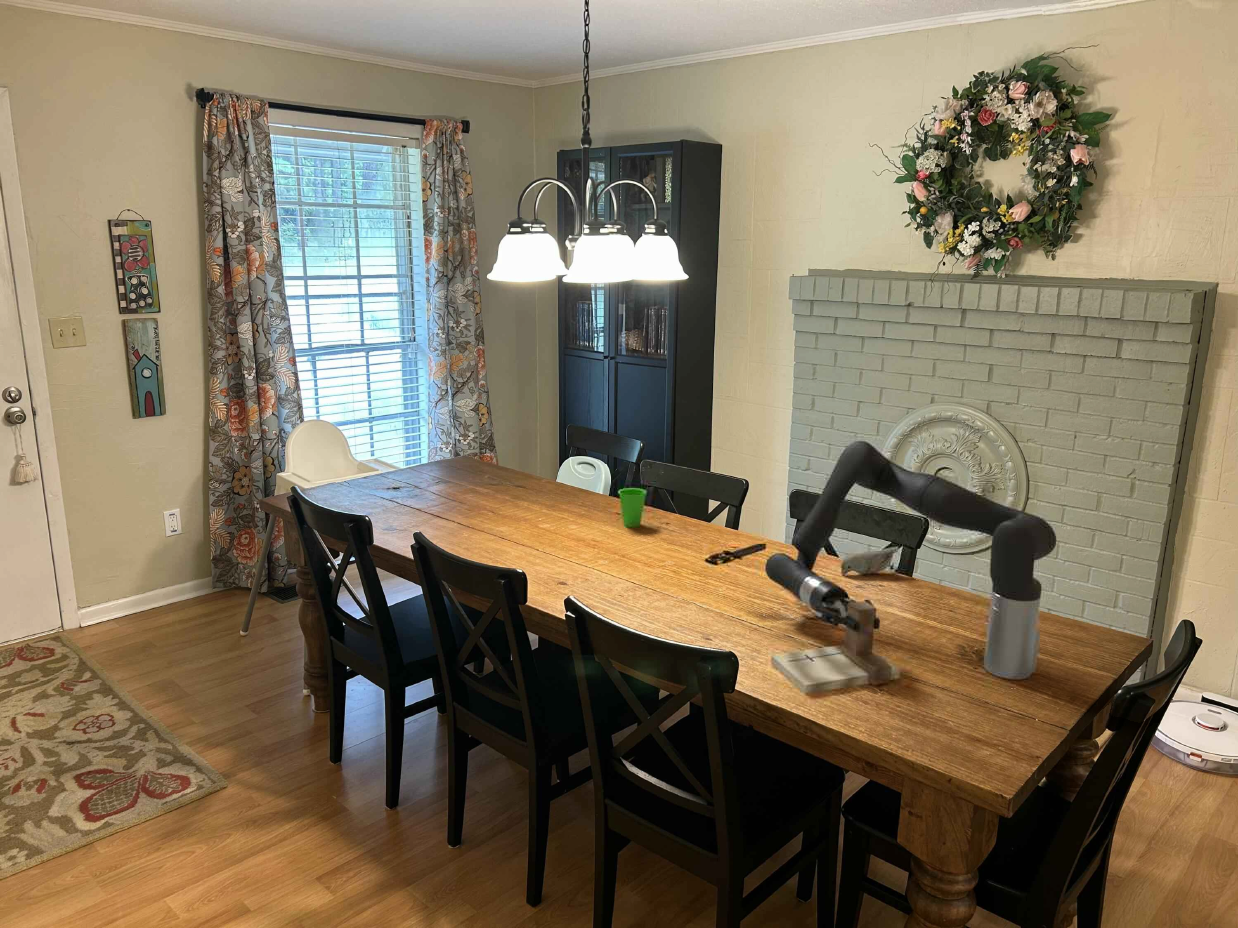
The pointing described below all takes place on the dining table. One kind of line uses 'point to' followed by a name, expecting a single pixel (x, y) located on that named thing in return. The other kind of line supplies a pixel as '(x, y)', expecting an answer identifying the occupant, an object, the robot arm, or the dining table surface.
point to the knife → (734, 554)
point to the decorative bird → (869, 561)
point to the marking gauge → (865, 643)
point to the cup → (632, 505)
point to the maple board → (823, 669)
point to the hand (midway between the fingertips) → (868, 626)
